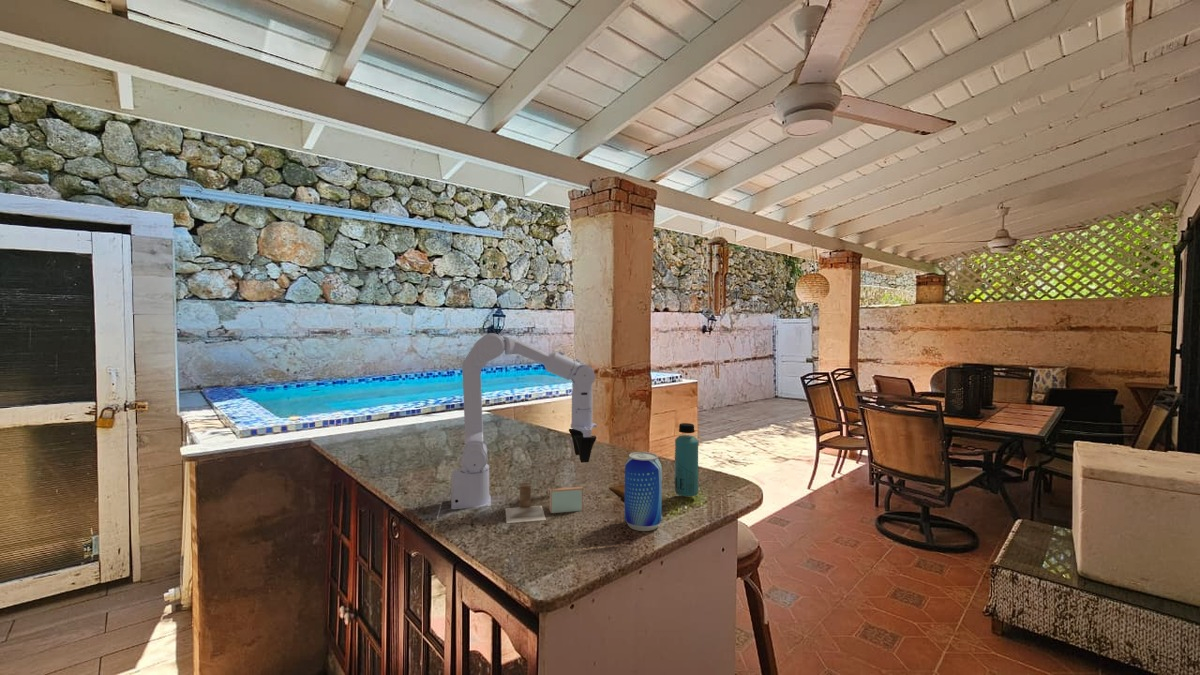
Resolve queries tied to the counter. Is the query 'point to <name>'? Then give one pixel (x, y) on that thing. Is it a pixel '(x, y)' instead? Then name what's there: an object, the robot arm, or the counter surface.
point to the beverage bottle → (686, 462)
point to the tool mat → (524, 519)
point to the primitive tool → (619, 490)
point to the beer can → (643, 491)
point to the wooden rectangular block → (525, 504)
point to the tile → (566, 499)
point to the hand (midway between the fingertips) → (581, 458)
